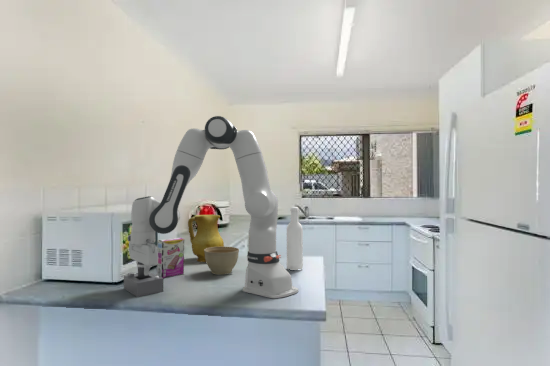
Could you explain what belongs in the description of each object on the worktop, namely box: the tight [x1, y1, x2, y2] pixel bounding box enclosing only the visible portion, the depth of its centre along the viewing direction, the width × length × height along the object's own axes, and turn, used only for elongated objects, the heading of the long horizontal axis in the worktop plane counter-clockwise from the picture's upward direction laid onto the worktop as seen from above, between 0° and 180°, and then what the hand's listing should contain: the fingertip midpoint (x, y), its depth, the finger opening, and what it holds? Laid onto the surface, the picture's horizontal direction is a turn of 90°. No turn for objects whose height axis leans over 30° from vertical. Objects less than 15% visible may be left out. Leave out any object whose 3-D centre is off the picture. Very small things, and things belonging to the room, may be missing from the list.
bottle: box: [286, 206, 304, 270], centre depth 173 cm, size 8×8×30 cm
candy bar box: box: [156, 237, 185, 279], centre depth 161 cm, size 11×5×16 cm, turn 137°
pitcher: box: [187, 214, 225, 263], centre depth 195 cm, size 17×19×25 cm
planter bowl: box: [204, 246, 240, 276], centre depth 166 cm, size 16×16×11 cm
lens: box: [137, 262, 149, 280], centre depth 139 cm, size 4×4×8 cm
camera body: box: [123, 271, 164, 298], centre depth 139 cm, size 14×10×6 cm
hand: (143, 273), depth 139 cm, fingers closed on lens, 4 cm apart
